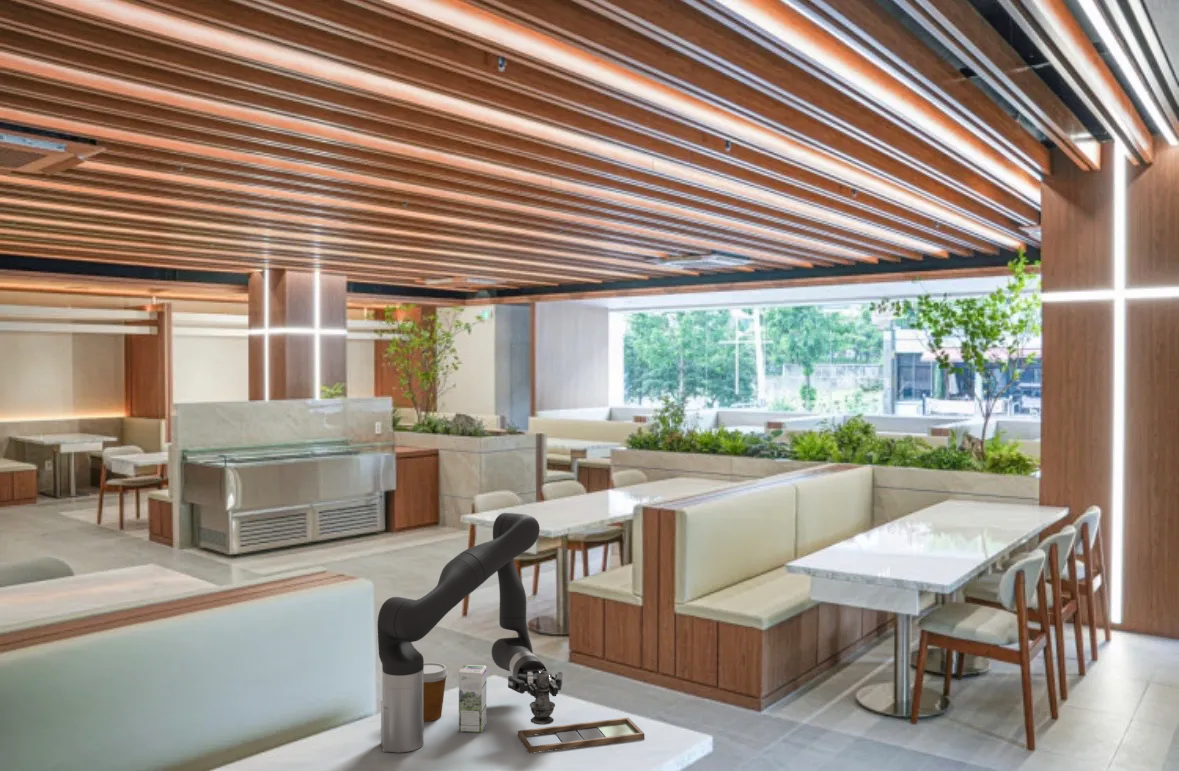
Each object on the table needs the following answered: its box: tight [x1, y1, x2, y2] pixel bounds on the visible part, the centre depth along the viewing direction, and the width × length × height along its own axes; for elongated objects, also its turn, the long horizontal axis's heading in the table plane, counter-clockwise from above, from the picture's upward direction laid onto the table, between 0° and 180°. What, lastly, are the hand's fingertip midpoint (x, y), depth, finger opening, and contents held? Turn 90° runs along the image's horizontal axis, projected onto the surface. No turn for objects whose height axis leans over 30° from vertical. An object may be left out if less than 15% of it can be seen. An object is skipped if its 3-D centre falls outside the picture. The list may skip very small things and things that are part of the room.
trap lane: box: [517, 717, 645, 754], centre depth 208 cm, size 28×11×1 cm, turn 108°
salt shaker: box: [529, 669, 556, 726], centre depth 205 cm, size 6×6×12 cm
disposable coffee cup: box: [423, 662, 449, 722], centre depth 221 cm, size 10×10×12 cm
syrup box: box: [458, 664, 488, 734], centre depth 213 cm, size 6×6×14 cm
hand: (546, 692), depth 202 cm, fingers closed on salt shaker, 3 cm apart
